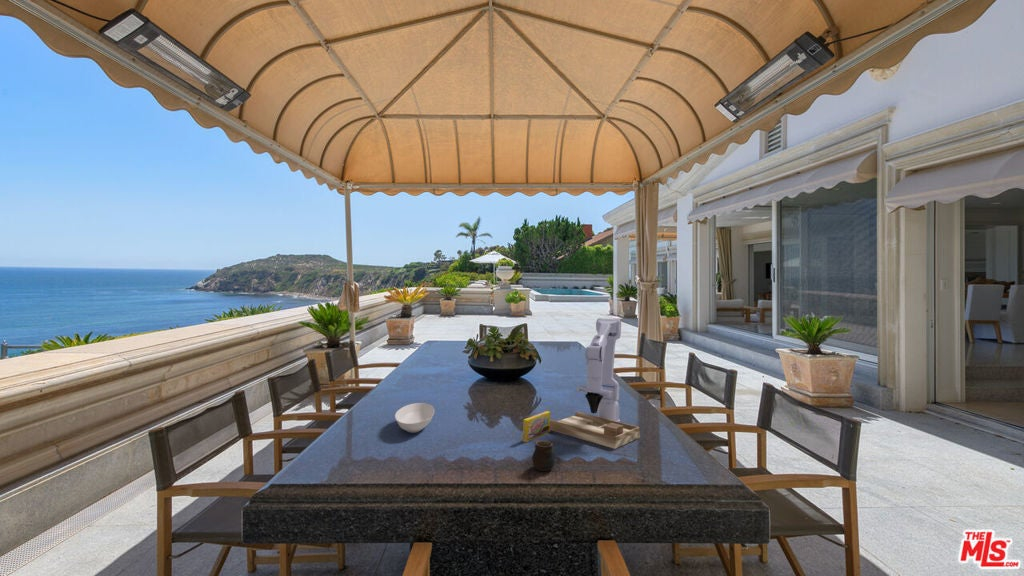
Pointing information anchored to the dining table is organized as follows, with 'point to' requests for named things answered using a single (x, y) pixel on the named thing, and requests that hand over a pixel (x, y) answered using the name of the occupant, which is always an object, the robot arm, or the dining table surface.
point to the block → (613, 429)
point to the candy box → (536, 426)
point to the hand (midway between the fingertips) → (594, 412)
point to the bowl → (414, 416)
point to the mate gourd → (543, 456)
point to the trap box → (594, 430)
